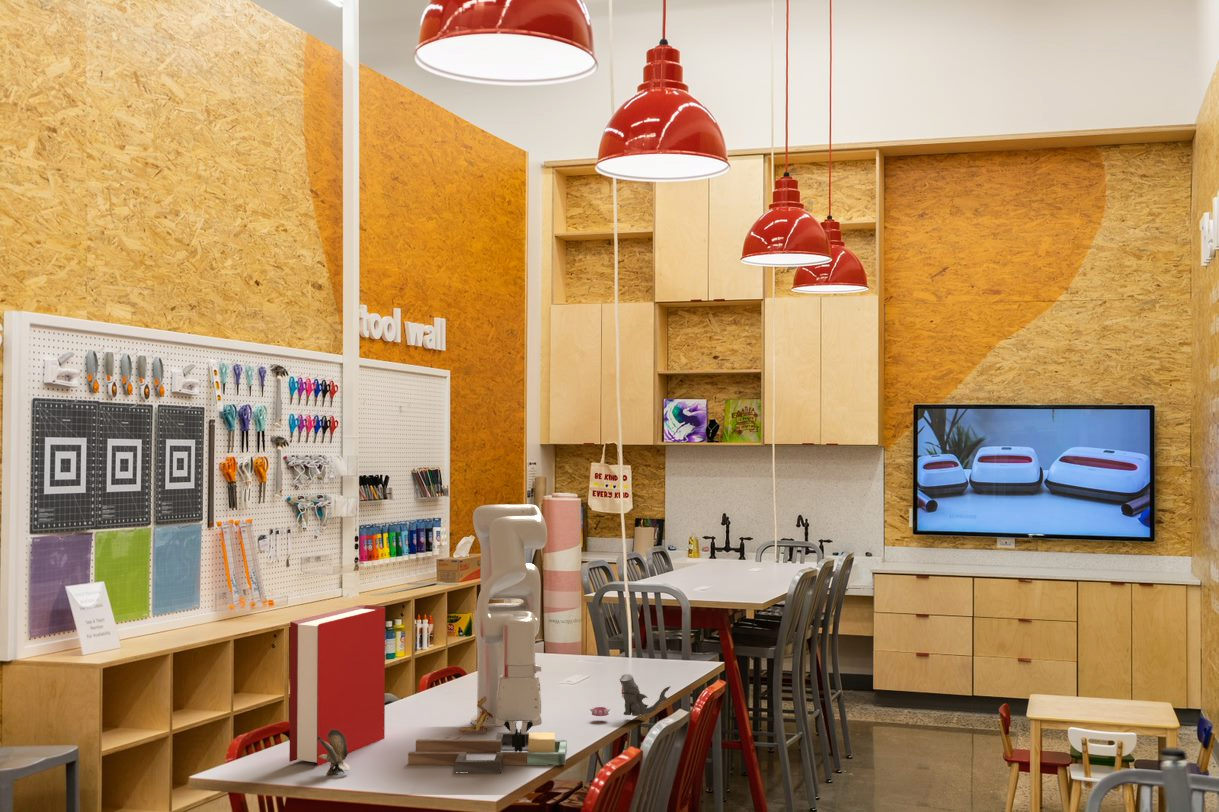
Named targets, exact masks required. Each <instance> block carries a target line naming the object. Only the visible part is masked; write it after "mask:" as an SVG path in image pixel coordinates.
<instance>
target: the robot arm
mask: <svg viewBox="0 0 1219 812" xmlns="http://www.w3.org/2000/svg"><path fill="white" fill-rule="evenodd" d="M472 522H473V523H472V524H473V528H474V531H475V535H476V537H477V540H478V542H479V546H480V592H479V593H478V594H479V595H478V597H477V601H476V602H477V603H476V610H475V612H474V616H473V617H474V618H473V621H474V629H475V636H476V647H477V648H476V650H477V651H476V652H477V654H476V655H477V657H476V658H477V659H476V660H477V674H476V675H477V694H476V697H477V700H476V701H477V702H476V703H477V704H478V701H480V700H481V699H482V698H484V696H486V698H487V701H486V702H485V703H483V704H482V707H484V708H485V709H486V710H487V712H490V713H491V714H492V716H493V718H491V717H490V718H489V719H488V720H487V719H486V720H485V722H484V723H483V724H482V725H481V727H482V726H483V727H484V726H485V727H486V728H487V727H489V728H490V727H491V728H492V727H493V728H494V727H497V728H498V727H505V728H506V729H507V730H508V731H509V733H511V734H512V747H515V750H514V752H523V750H522V748H523V747H525V733H528V731H529V730H530V729H531V728H532V727H536V726H541V725H542V722H543V720H542V716H541V714H542V694H541V683H540V677H539V675H537V673H539V672H542V665H538V664H536V636H537V635H538V633H540V632H539V631H540V626H541V594H542V593H541V574H540V571H539V568H538V567H537V566H536V565H535V564H533V563H532V562H531V563H530V562H527V558H526V550H542V549H543V548H545V547H546V544H547V541H548V528H547V523H546V520H545V517H544V515H543V514H542V512H541V510H540V508H539V506H537V505H535V504H525V503H523V504H522V503H521V504H508V503H507V504H505V503H503V504H499V503H498V504H485V505H480V506H478V507H477V508H475V509H474V511H473V514H472ZM490 600H496V601H498V600H501V601H502V600H521V601H522V602H496V603H493V602H492V603H489V601H490ZM477 704H476V705H477ZM476 707H477V706H476ZM480 711H481V712H482V710H481V709H480V708H479V707H477V713H476V715H474V716H472V717H471V718H470V719H471V724H472V725H473V726H474V725H475V726H477V720H478V718H479V717H480V714H481V713H480ZM487 718H488V717H487ZM518 721H519V722H521V727H520V730H519V729H518V728H517V724H518V723H519V722H518ZM517 722H518V723H517Z"/></svg>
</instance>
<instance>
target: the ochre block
mask: <svg viewBox="0 0 1219 812" xmlns="http://www.w3.org/2000/svg"><path fill="white" fill-rule="evenodd" d="M528 733H529V739H528V750H527V752H555V740H556V732H528Z"/></svg>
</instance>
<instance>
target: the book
mask: <svg viewBox="0 0 1219 812" xmlns="http://www.w3.org/2000/svg"><path fill="white" fill-rule="evenodd" d="M289 622H290V623H289V627H290V628H289V629H290V630H289V634H290V635H289V640H290V641H289V642H290V643H289V658H290V659H289V754H288V755H289V757H288V758H289V762H290V763H291V762H295V761H302V762H303V761H305V762H310V763H316V764H317V766H318V767H319V766H322V765H324V764H327V763H330V762H329V761H327V760H326V759H323V758H319V756H321V755H323V754H325V755H329V754H328V751H327V750H326V748H325V747H324V745H323V744H322V743H321V742H320V741H319V740H318V737H320V738H321V739H322V740H323V741H325V742H327V743H328V744H330V742H329V739H328V733H329V732H330V731H331V729H333V730H335V729H336V730H339V731H341V733H342V734H343V735H344V736H345V738H346V740H347V742H346V743H347V750H348V754H350V753H353V752H356V751H358V750H360V749H362V748H365V747H367V746H370V745H373V744H374V743H377V742H379V741H382V740H385V733H386V732H385V727H386V726H385V722H386V719H385V717H386V716H385V715H386V714H385V713H386V711H385V709H386V707H385V703H386V702H385V701H386V699H385V697H386V692H385V688H386V606H384V605H383V606H379V605H371V604H369V605H368V604H364V605H361V604H360V605H356V606H355V605H354V606H350V607H347V608H346V607H345V608H343V609H338V610H333V611H331V612H330V611H329V612H325V613H321V614H317V615H312V616H308V617H303V618H300V619H295V620H291V621H289Z"/></svg>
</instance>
